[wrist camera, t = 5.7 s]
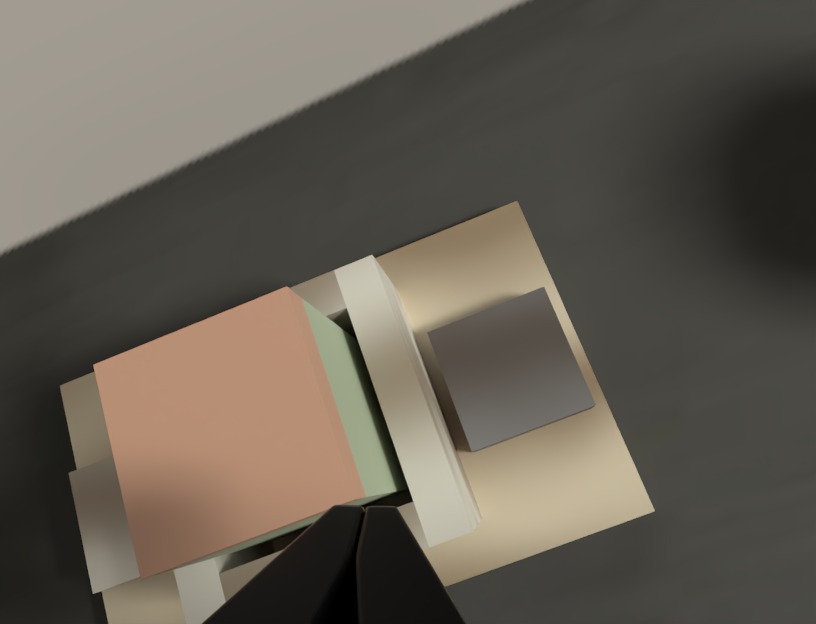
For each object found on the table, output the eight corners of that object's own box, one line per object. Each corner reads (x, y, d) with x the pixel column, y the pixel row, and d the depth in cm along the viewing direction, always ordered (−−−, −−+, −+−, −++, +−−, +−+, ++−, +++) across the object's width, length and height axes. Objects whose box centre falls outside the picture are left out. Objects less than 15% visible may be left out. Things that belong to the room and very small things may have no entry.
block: (414, 488, 20) (354, 499, 13) (272, 540, 21) (140, 579, 14) (365, 346, 22) (286, 286, 14) (233, 398, 22) (93, 364, 15)
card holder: (650, 509, 21) (688, 522, 16) (138, 694, 22) (31, 756, 17) (517, 209, 24) (516, 144, 19) (73, 388, 25) (-33, 369, 20)
